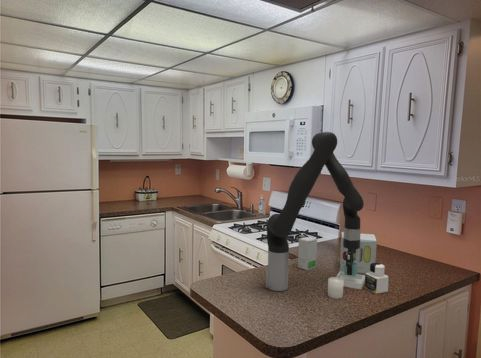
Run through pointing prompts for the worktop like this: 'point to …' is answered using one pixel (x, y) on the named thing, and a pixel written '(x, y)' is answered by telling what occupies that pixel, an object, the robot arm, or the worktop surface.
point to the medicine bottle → (376, 279)
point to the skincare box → (307, 253)
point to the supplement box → (361, 253)
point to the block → (354, 269)
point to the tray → (352, 280)
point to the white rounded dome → (335, 287)
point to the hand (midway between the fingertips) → (350, 272)
